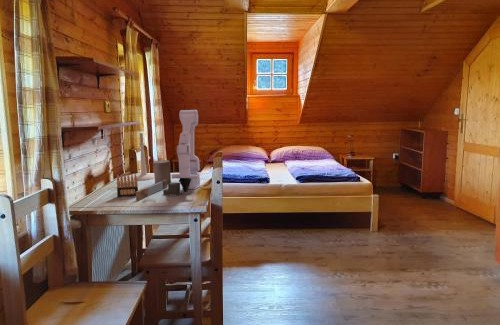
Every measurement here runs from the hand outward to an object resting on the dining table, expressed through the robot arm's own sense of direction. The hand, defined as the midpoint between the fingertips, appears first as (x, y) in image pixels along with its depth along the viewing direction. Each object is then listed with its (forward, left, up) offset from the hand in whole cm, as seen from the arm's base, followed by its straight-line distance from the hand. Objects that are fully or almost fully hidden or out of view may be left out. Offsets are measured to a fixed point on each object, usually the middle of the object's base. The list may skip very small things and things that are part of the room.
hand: (185, 192), depth 201 cm
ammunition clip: (+9, -29, -2) cm, 31 cm away
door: (-1, -19, -1) cm, 19 cm away
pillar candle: (-23, -26, -2) cm, 35 cm away
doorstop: (0, -8, -2) cm, 8 cm away
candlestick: (-35, -46, -2) cm, 58 cm away
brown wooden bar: (0, -19, -1) cm, 19 cm away
